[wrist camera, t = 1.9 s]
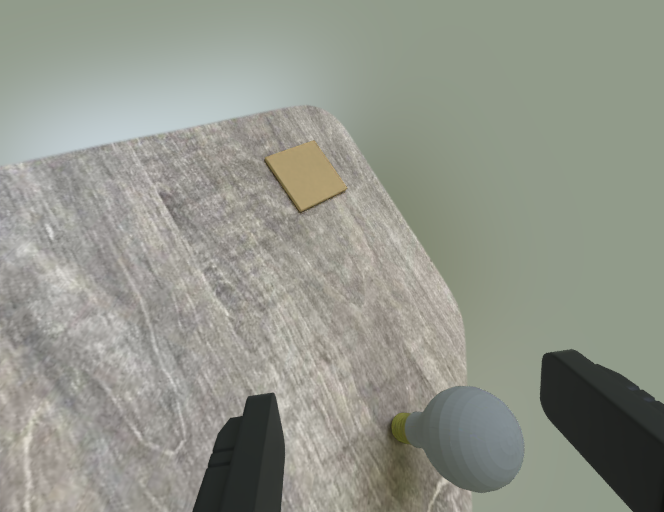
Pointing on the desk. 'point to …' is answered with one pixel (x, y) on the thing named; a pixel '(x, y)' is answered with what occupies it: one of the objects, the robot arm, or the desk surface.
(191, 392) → the desk surface
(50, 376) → the desk surface
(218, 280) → the desk surface
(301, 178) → the mat
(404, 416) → the light bulb
